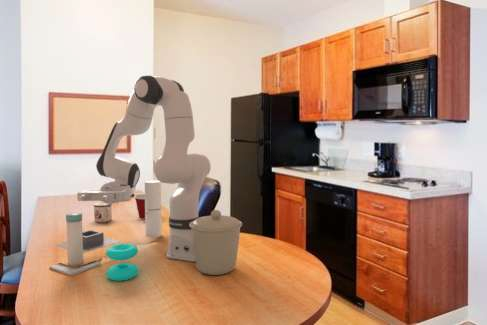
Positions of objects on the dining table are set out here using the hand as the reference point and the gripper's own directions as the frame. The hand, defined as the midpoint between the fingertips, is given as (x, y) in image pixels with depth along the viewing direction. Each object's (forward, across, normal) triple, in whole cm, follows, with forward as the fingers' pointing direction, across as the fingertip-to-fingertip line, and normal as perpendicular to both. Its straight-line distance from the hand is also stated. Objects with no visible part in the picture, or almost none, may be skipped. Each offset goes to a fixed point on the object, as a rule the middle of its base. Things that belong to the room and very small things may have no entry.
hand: (93, 198), depth 141 cm
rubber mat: (+12, -1, +22) cm, 25 cm away
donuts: (+17, +19, +24) cm, 35 cm away
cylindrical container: (-30, +11, +22) cm, 39 cm away
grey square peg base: (-10, -9, +22) cm, 26 cm away
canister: (+7, +48, +24) cm, 55 cm away
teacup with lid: (-52, -25, +21) cm, 61 cm away
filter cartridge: (+12, -1, +22) cm, 25 cm away
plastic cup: (-64, -8, +21) cm, 68 cm away
